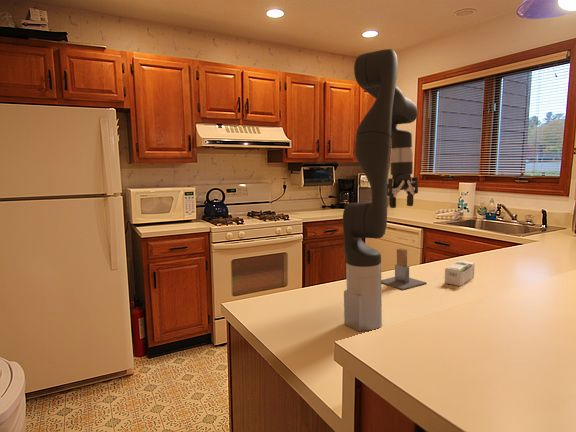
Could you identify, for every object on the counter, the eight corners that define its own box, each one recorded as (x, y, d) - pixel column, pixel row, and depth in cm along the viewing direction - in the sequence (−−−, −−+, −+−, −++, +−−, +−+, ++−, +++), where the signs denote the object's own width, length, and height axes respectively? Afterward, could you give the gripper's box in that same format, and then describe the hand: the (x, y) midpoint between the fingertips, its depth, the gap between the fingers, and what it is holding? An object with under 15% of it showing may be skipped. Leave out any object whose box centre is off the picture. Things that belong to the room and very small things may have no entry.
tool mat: (402, 290, 129) (402, 288, 129) (378, 282, 139) (378, 280, 139) (426, 283, 135) (426, 282, 135) (401, 276, 145) (401, 275, 145)
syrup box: (444, 267, 134) (459, 259, 144) (444, 283, 135) (458, 274, 145) (461, 270, 130) (475, 261, 140) (460, 287, 131) (474, 276, 141)
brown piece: (405, 283, 135) (405, 251, 133) (394, 280, 139) (394, 248, 138) (409, 282, 136) (409, 250, 134) (398, 279, 140) (398, 248, 138)
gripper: (394, 161, 125) (395, 209, 127) (423, 160, 132) (423, 205, 134) (378, 162, 132) (379, 207, 134) (407, 161, 139) (407, 204, 141)
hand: (401, 206), depth 134 cm, fingers open, 8 cm apart
